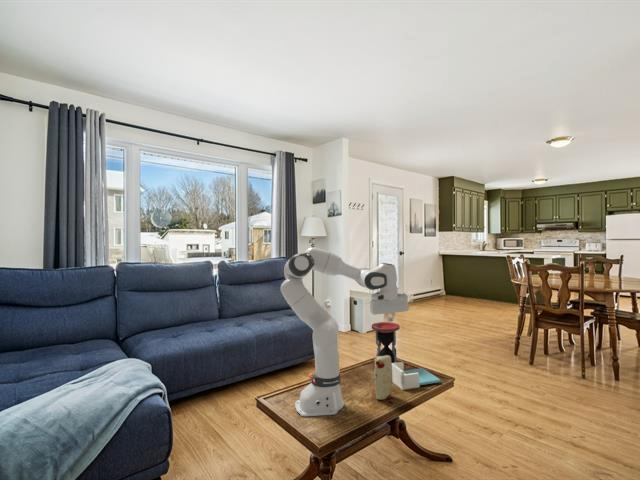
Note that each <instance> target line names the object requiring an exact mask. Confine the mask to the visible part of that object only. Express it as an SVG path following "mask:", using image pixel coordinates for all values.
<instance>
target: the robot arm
mask: <svg viewBox="0 0 640 480" xmlns="http://www.w3.org/2000/svg"><path fill="white" fill-rule="evenodd" d="M312 270H313V271H317V272H319V273H322V274H325V275H327V276H328V275H329V276H332V277H333V276H338V275H339V276H344V277H346V278H350V279H352V280H354V281H355V282H356V283H357V284H358V285H359V286H361V287H362V288H366V289H368V290H371V291H375V290H378V291H376V292H374V293H372V294H371V295H370V297H371V300H370V302H369V311H370V314H372V315H374V316H376V315H383V314H384V317H385V318H386V322H391V323H392V322H394V319H395V318H394V317H395V316H396V313H403V312H408V311H409V309H410V308H409V301H408V300H409V298H408V297H409V296H408V295H407V293H405V292H402V293H398V286H397V282H398V277H397V275H398V274H397V268H396V265H394V264H392V263H387V262H382V263H380V264H379V265H378V266H376V267H375V268H373V269H370V268H366V267H365V268H358V267H355V266H353V265H350V264H348V263H346V262H344V260H343V259H342V258H341V257H340V256H339V255H336V254H335V253H334V252H331V251H328V250H326V249H322V248H318V247H309V248H307V249H306V250H305V252H304V253H296V254H294V255H292V256H291V257H290V258H289V259H288V260H287V261H286V262H285V264H284V266H283V269H282V273H283V274H282V275H283V282H282V283H281V284H280V293H281V294H282V296H283V298H284V300H285V301H286V303H287V304H288V305H289V307H290V308H291V309H292V311H293V312H294V313H295V314H296V316H297V317H298V318H299V319H300V320H301V321H302V322H304V323H305V324H306V325H307V326H308V327H309V328H310V329H311V330H312V345H313V346H312V347H313V353H314V367H315V369H314V370H315V373H314V374H313V373H309V374H308V378H309V379H310V381H311V382H310V383H308V385H307V386H306V387H304V388H303V389H302V390H301V391H300V394H299V399H298V400H296V401H295V403H294V409H295V408H296V409H295V412H296V413H297V412H298V413H299V414H300V415H299V414H298V413H297V414H298V415H299V416H301V417H315V416H316V417H318V416H319V417H320V416H331V415H332V416H333V415H336V414H337V413H338V412H339V411H340V410H341V409H343V407H344V406H345V402H344V400H343V399H344V398H343V396H342V390H341V386H342V385H341V384H342V378H341V373H340V357H339V347H338V346H339V345H338V334H339V330H340V329H339V324H338V322H337V321H336V319H335V318H333V316H332V315H330V313H329V312H328V311H326V309H324V307H323V306H321V305H320V303H319V302H318V301H317V300H316V298H315V297H314V296H313V295H312V293H311V292H310V291H309V290H308V289H307V288H306V286H305V284H304V283H303V279H304V278H305V277H306V276H307V275H308V274H309V273H310V272H311V271H312ZM389 314H391V316H389Z"/></svg>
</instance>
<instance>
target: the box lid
mask: <svg viewBox="0 0 640 480" xmlns="http://www.w3.org/2000/svg"><path fill="white" fill-rule="evenodd" d="M404 372H405V373H406V374H411V373H417V372H418V373H419V386H423V385H429V384H437V383H441V379H440V378H438V377H437V376H435V375H434V374H433V373H431V372H430V371H428V370H427V369H424V367H421V368H413V369H406V370H405V369H404Z"/></svg>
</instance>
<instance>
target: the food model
mask: <svg viewBox="0 0 640 480" xmlns="http://www.w3.org/2000/svg"><path fill="white" fill-rule="evenodd" d="M374 363H375V369H374V372H373V373H374V378H373V379H374V390H375V398H376V399H377V400H387V399H390V398H391V397H392V394H393V393H392V391H393V382H392V379H393V376H392V362H391V357H390V356H389V355H386V356H377V357H376V356H375V358H374Z"/></svg>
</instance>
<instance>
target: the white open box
mask: <svg viewBox="0 0 640 480" xmlns="http://www.w3.org/2000/svg"><path fill="white" fill-rule="evenodd" d="M404 364H405V363H404V362H403V361H399V362H398V361H397V363H392V376H393V379H392V383H393V384H395V385H396V386H397V387H398V388H399V389H401V390H402V391H404V390H410V389H411V390H412V389H417V388H420V385H419V373H418V372H417V373H411V374H406V373H405V372H404V371H405V369H404V368H405V367H404Z"/></svg>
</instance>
